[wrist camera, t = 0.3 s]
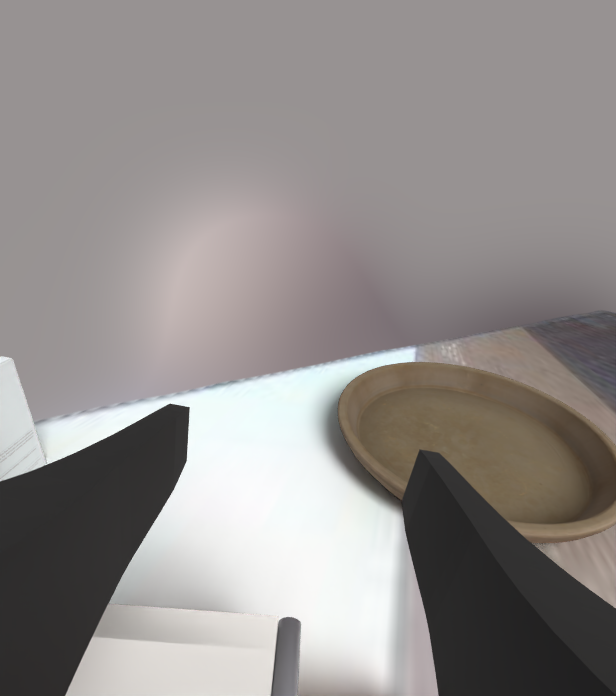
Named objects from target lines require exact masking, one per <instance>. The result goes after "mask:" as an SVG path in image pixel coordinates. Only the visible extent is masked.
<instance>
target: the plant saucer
mask: <svg viewBox="0 0 616 696" xmlns="http://www.w3.org/2000/svg"><path fill="white" fill-rule="evenodd" d="M338 420H339V424H340V428H341V431H342V434H343V436H344V438H345V440H346V442H347V444H348V445H349V447H350V449H351V450H352V452H353V453H354V455H355V457H356V458H357V459H358V461H359V462H360V463H361V464H362V465H363V466H364V468H365V469H366V470H367V471H368V472H369V473H370V474H371V475H372V476H373V477H374V478H375V479H376V480H378V481H379V482H380V483H381V484H382V485H383V486H384V487H385V488H386V489H387V490H388V491H389V492H391V493H392V494H393V495H394V496H396V497H397V498H398V499H400V500H401V501H402V498H403V495H404V493H405V490H406V487H407V484H408V481H409V478H410V475H411V472H412V469H413V467H414V464H415V461H416V458H417V455H418V452H419V449H421V450H427V451H432V452H438V453H440V454H441V455H442V456H443V457H444V458H445V459H446V460H447V461H448V462H449V463H450V464H451V465H452V466H453V467H454V468H455V469H456V470H457V471H458V472H459V473H460V474H461V475H462V476H463V477H464V478H465V479H466V480H467V481H468V483H469V484H470V485H471V486H472V487H473V488H474V489H475V490H476V491H477V492H478V493H479V494H480V495H481V496H482V497H483V498H484V499H485V500H486V501H487V502H488V503H489V504H490V505H491V506H492V507H493V508H494V509H495V510H496V511H497V512H498V513H499V514H500V515H501V516H502V517H503V518H504V519H505V520H506V521H508V522H509V523H510V524H511V525H512V526H513V527H514V528H515V529H516V530H517V531H518V532H519V533H520V534H521V535H523V536H524V537H525V538H526V539H527V540H528V541H529V542H531V543H559V542H567V541H573V540H578V539H581V538H585V537H588V536H591V535H594V534H597V533H600V532H602V531H605V530H606V529H608V528H610V527H612V526H613V525H615V524H616V445H615V444H614V443H613V442H612V441H611V439H610V438H609V437H608V436H607V435H606V434H605V433H604V432H603V431H601V430H600V429H599V428H598V427H597V426H596V425H595V424H593V423H592V422H591V421H590V420H588V419H587V418H586V417H584V416H583V415H582V414H580V413H579V412H577V411H576V410H574V409H573V408H571V407H569V406H568V405H566V404H565V403H563V402H561V401H559V400H557V399H556V398H554V397H552V396H550V395H548V394H546V393H544V392H541V391H539V390H537V389H535V388H533V387H531V386H528V385H526V384H523V383H521V382H518V381H515V380H513V379H510V378H507V377H504V376H501V375H498V374H494V373H491V372H487V371H483V370H479V369H474V368H470V367H464V366H458V365H452V364H444V363H430V362H407V363H398V364H391V365H385V366H381V367H378V368H375V369H372V370H369V371H367V372H365V373H363V374H361V375H359V376H358V377H356V378H355V379H354V380H352V381H351V382H350V383H349V384H348V385H347V386H346V388H345V389H344V390H343V392H342V394H341V396H340V399H339V403H338Z"/></svg>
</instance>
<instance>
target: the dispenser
mask: <svg viewBox="0 0 616 696" xmlns="http://www.w3.org/2000/svg"><path fill="white" fill-rule="evenodd" d="M300 635H301V623H300V621H299V620H297V619H295V618H292V617H286V618H282V619H281V620H280V621H279V623H278V616H271V615H257V614H244V613H230V612H217V611H203V610H190V609H176V608H162V607H149V606H135V605H122V604H108V605H107V607H106V609H105V611H104V613H103V615H102V617H101V620H100V622H99V624H98V626H97V628H96V630H95V632H94V634H93V636H92V639H91V641H90V643H89V645H88V647H87V649H86V651H85V653H84V655H83V658H82V660H81V662H80V664H79V666H78V669H77V671H76V673H75V675H74V677H73V680H72V682H71V684H70V686H69V688H68V691H67V693H66V695H65V696H298V677H299V656H300Z"/></svg>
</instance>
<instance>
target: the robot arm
mask: <svg viewBox="0 0 616 696" xmlns="http://www.w3.org/2000/svg"><path fill="white" fill-rule="evenodd" d="M189 408H190V407H185V406H180V405H174V404H169V405H167V406H165V407H163V408H161V409H159V410H157V411H155V412H154V413H152V414H150V415H148V416H146V417H145V418H143V419H141V420H139V421H137V422H136V423H134V424H132V425H130V426H128V427H126V428H124V429H123V430H121V431H119V432H117V433H115V434H113V435H111V436H109V437H107V438H105V439H103V440H101V441H99V442H97V443H95V444H93V445H91V446H89V447H87V448H85V449H82V450H80V451H78V452H76V453H74V454H72V455H69V456H67V457H65V458H62V459H60V460H58V461H55V462H53V463H50V464H48V465H45V466H42V467H40V468H37V469H35V470H32V471H29V472H27V473H24V474H21V475H18V476H15V477H12V478H9V479H6V480H3V481H0V696H65V695H66V693H67V691H68V688H69V686H70V684H71V682H72V680H73V677H74V675H75V673H76V671H77V669H78V666H79V664H80V662H81V660H82V658H83V655H84V653H85V651H86V649H87V647H88V645H89V643H90V641H91V639H92V636H93V634H94V632H95V630H96V628H97V626H98V624H99V622H100V620H101V617H102V615H103V613H104V611H105V609H106V607H107V605H108V603H109V601H110V599H111V597H112V595H113V593H114V591H115V589H116V587H117V585H118V583H119V581H120V579H121V577H122V575H123V573H124V571H125V570H126V568H127V566H128V564H129V563H130V561H131V559H132V557H133V556H134V554H135V552H136V551H137V549H138V548H139V546H140V544H141V543H142V541H143V539H144V538H145V536H146V535H147V533H148V531H149V530H150V528H151V526H152V525H153V523H154V521H155V520H156V518H157V517H158V515H159V513H160V512H161V510H162V508H163V507H164V505H165V503H166V502H167V500H168V498H169V497H170V495H171V493H172V492H173V490H174V488H175V486H176V483H177V481H178V479H179V477H180V475H181V472H182V470H183V468H184V466H185V463H186V461H187V444H188V426H189ZM402 506H403V515H404V524H405V531H406V536H407V541H408V545H409V549H410V553H411V557H412V561H413V565H414V569H415V573H416V577H417V581H418V585H419V589H420V593H421V597H422V601H423V605H424V609H425V614H426V618H427V623H428V628H429V633H430V639H431V646H432V652H433V659H434V665H435V672H436V679H437V686H438V694H439V696H616V608H614V607H613V606H611V605H610V604H608V603H607V602H606V601H604V600H603V599H602V598H600V597H599V596H598V595H596V594H595V593H593V592H592V591H591V590H589V589H588V588H587V587H585V586H584V585H583V584H581V583H580V582H578V581H577V580H576V579H575V578H573V577H572V576H571V575H569V574H568V573H567V572H566V571H564V570H563V569H562V568H560V567H559V566H558V565H557V564H556V563H554V562H553V561H552V560H551V559H550V558H548V557H547V556H546V555H545V554H544V553H542V552H541V551H540V550H539V549H537V548H536V547H535V546H534V545H533V544H532V543H531V542H529V541H528V540H527V539H526V538H525V537H524V536H523V535H521V534H520V533H519V532H518V531H517V530H516V529H515V528H514V527H513V526H512V525H511V524H510V523H509V522H508V521H506V520H505V519H504V518H503V517H502V516H501V515H500V514H499V513H498V512H497V511H496V510H495V509H494V508H493V507H492V506H491V505H490V504H489V503H488V502H487V501H486V500H485V499H484V498H483V497H482V496H481V495H480V494H479V493H478V492H477V491H476V490H475V489H474V488H473V487H472V486H471V485H470V484H469V483H468V481H467V480H466V479H465V478H464V477H463V476H462V475H461V474H460V473H459V472H458V471H457V470H456V469H455V468H454V467H453V466H452V465H451V464H450V463H449V462H448V461H447V460H446V459H445V458H444V457H443V456H442V455H441V454H440V453H438V452H432V451H427V450H421V449H419V452H418V455H417V458H416V461H415V464H414V467H413V469H412V472H411V475H410V478H409V481H408V484H407V487H406V490H405V493H404V495H403V498H402Z"/></svg>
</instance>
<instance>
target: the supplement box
mask: <svg viewBox="0 0 616 696" xmlns="http://www.w3.org/2000/svg"><path fill="white" fill-rule="evenodd" d="M46 463H47V462H46V459H45V456H44V453H43V450H42V447H41V444H40V441H39V438H38V434H37V431H36V429H35V425H34V422H33V419H32V416H31V413H30V410H29V407H28V404H27V401H26V398H25V395H24V392H23V389H22V386H21V382H20V379H19V376H18V373H17V370H16V367H15V364H14V361H13V359H12V358H8V357H2V356H0V481H3V480H6V479H9V478H12V477H15V476H18V475H21V474H24V473H27V472H29V471H32V470H35V469H37V468H40V467H42V466H44V465H45V464H46Z"/></svg>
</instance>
